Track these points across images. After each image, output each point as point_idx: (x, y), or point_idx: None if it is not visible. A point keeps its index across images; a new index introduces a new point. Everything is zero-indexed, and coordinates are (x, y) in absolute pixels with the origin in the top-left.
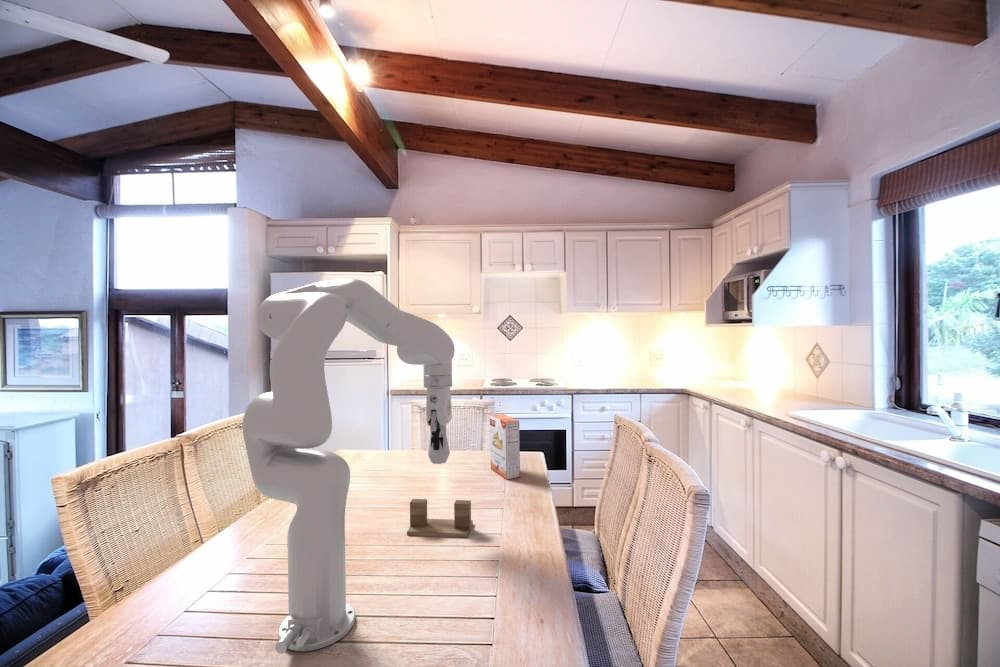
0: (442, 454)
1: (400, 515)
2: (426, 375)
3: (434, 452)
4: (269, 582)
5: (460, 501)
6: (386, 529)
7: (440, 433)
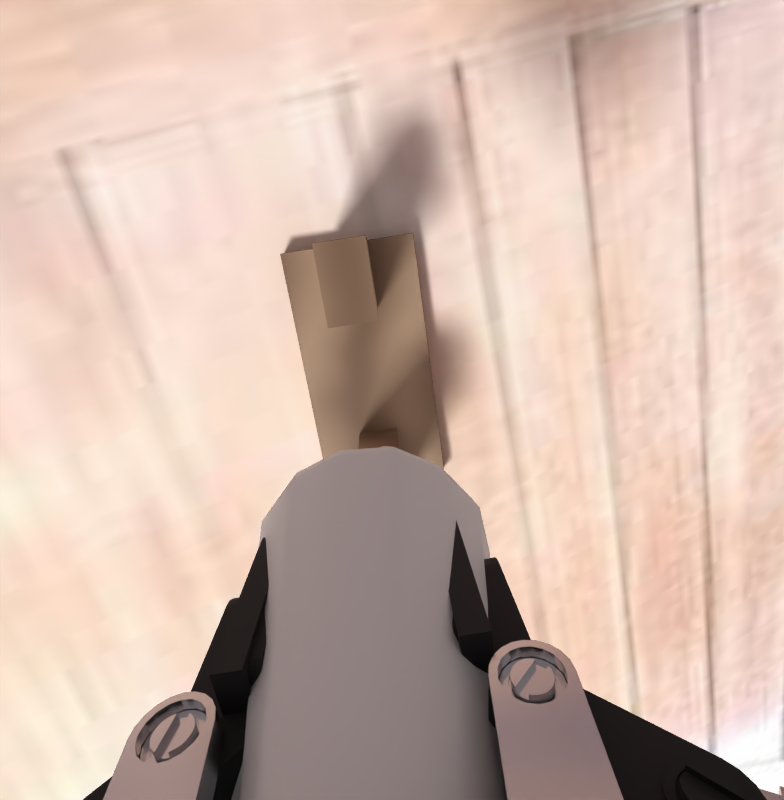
0: (462, 492)
1: None
2: None
3: None
4: (749, 670)
5: (341, 297)
6: None
7: (588, 715)
